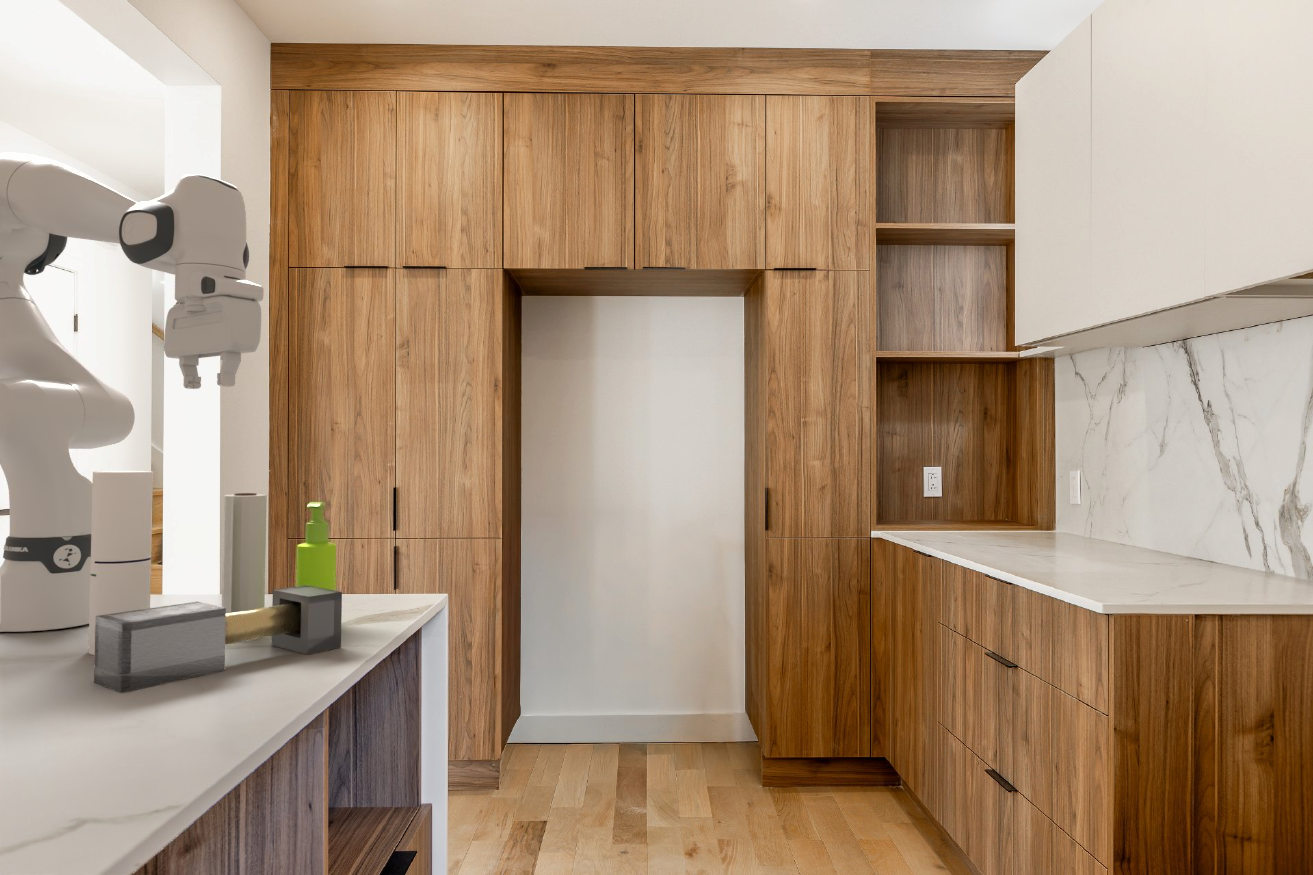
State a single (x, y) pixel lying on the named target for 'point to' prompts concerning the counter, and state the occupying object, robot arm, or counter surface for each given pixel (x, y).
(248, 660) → the counter surface
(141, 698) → the counter surface
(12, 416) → the robot arm
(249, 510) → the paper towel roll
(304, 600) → the dark socket block
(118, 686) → the grey sleeve
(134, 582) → the cylindrical container
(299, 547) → the soap dispenser
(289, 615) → the brass slip tube
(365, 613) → the counter surface
